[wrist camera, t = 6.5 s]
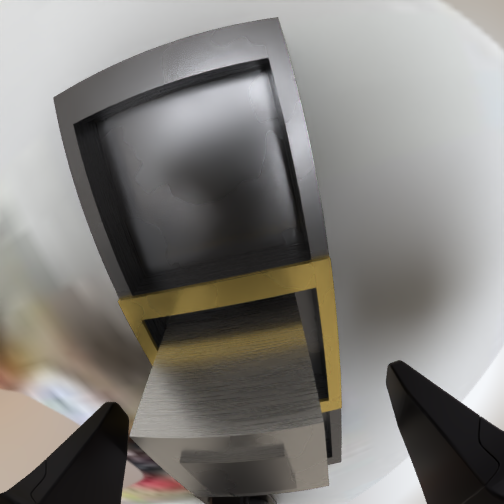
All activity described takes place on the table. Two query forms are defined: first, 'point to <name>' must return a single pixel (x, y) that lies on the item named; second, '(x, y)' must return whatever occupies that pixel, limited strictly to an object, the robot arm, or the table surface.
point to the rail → (206, 188)
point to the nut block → (235, 402)
